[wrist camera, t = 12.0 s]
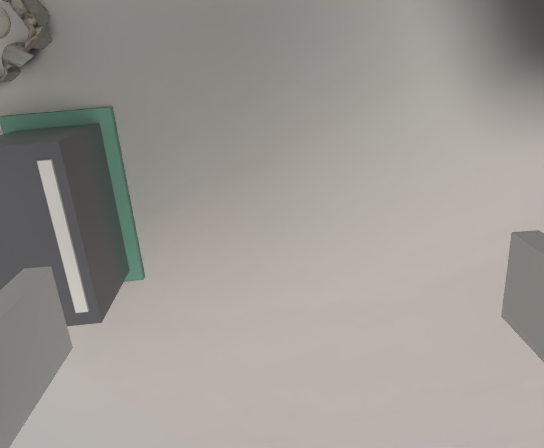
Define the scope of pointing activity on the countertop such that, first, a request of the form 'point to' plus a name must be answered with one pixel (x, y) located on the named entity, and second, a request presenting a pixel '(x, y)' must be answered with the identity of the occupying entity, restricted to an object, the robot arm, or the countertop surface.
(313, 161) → the countertop surface
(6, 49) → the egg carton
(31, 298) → the robot arm
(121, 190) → the board
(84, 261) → the block
